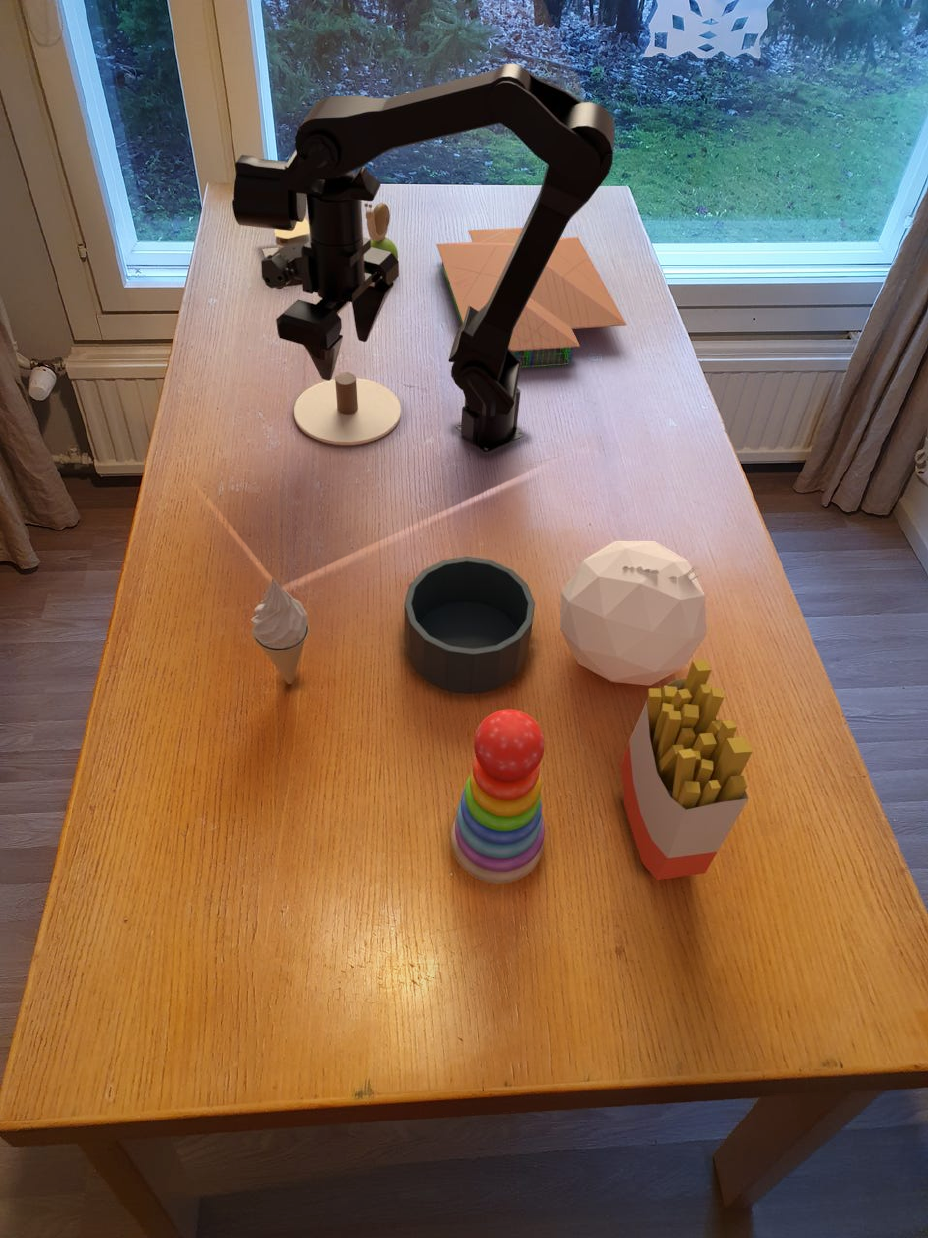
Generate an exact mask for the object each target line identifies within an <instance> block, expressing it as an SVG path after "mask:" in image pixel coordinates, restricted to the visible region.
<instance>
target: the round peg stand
mask: <svg viewBox="0 0 928 1238" xmlns="http://www.w3.org/2000/svg"><path fill="white" fill-rule="evenodd" d="M293 416H294V421H295V424H296V425H297V426H298V428H299V429H300V431H302V432H303V433H304V434H305V435H307V436H309V437H310V438H312V439H314V440H316V441H319V442H322V443H325V444H329V445H335V446H358V445H363V444H367V443H372V442H374V441H376V440H379V439H382V438H383V437H385V436H386V435H388V434H389V433H391V432H392V431H393V430H394V429H395V428H396V426H397V425H398V423H399V422H400V419H401V417H402V406H401V402H400V400H399V398H398V397H397V395H396V394H395V393H394V391H392V390H391V389H390V388H389V387H387V386H385V385H383V384H381V383H378V382H377V381H373V380H370V379H365V378H358V377H357V376H356V375H355V374H354V373H351V372H340V373H338V374H336V376H335V377H334V378H331V380H330V381H328V380H323V381H320V382H318V383H316V384H314V385H312V386H310V387H308V388H307V389H305V390H304V391H303V392H302V393H301V394H300V395H299V396H298V398H297V400H296V401H295V403H294V408H293Z"/></svg>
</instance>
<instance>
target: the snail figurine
mask: <svg viewBox="0 0 928 1238" xmlns="http://www.w3.org/2000/svg"><path fill="white" fill-rule="evenodd" d="M363 205H364V207H365V219H366V227H367V232H368V236H369V239H371V247H373V248H377V249H381V250H385V251H389V252H392V253H393V255H394V256H395V257H396V259H397V260H398V261H399V252H398V248H397V246H396V244H395V243H394V241H392V240H391V239H390V238H388V237H386V236H387V234H388V227H389V225H390V221H391V220H390V219H391V212H390V208H389V206H388V205H387V204H386V203H384V202H380V203H378V204H377V205H375V207H374V209H373V210H372V208H373V204H371V203H369V204H368V202H365V203H364V204H363ZM367 208H369V209H367Z"/></svg>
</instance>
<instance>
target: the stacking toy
mask: <svg viewBox="0 0 928 1238" xmlns="http://www.w3.org/2000/svg"><path fill="white" fill-rule="evenodd" d="M545 744H546V743H545V737H544V733H543V731H542V729H541V727H540V726H539V724H538V722H537V721H536V720H535V719H534V718H533V717H532V716H530V715H529V714H527V713H525V712H524V711H521V710H517V709H512V708H511V709H508V708H507V709H501V710H497V711H494V712H493V713H491V714H489V715H488V716H486V717H485V718H484V719H483V720H482V722H480V724H479V725H478V727H477V729H476V731H475V735H474V738H473V751H474V757H473V761H472V769H471V771H470V774H469V776H468V777H467V780H466V781H465V784H464V788H463V790H462V793H461V797H460V800H459V802H458V806H457V812H456V816H455V818H454V820H453V821H452V824H451V828H450V835H449V837H450V838H449V841H450V847H451V850H452V851H451V852H452V853H453V856H454V858H455V860H456V861H457V864H458V865H459V866H460V867H461V868H462V869H463V870H464V871H465V872H466V873H467V874H468V875H470V876H471V877H473V878H475V879H476V880H479V881H480V882H483V883H488V884H495V885H504V884H505V885H506V884H511V883H514V882H517V881H519V880H521V879H524V878H525V877H526V876H528V875H529V874H530V873H531V872H532V871H533V870H534V869H535V868H536V867H537V865H538V864H539V862H540V860H541V858H542V855H543V853H544V850H545V836H546V824H545V820H544V816H543V804H542V788H543V782H542V775H541V766H540V764H541V761H542V760H543V757H544V753H545V746H546V745H545Z"/></svg>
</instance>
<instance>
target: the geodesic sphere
mask: <svg viewBox="0 0 928 1238" xmlns="http://www.w3.org/2000/svg"><path fill="white" fill-rule="evenodd" d="M697 569H698V566H695V567H694V568H693V567H692V565H691V564H690V561H689V560H688V559H685V558H684V557H682V556H681V555H679V554H677V553H675V552H674V551H672V550H670V549H669V548H667V547H665V546H664V545H662V544H660V543H659V542H657V541H655V540H614V541H613V542H611V543H610V544H607V545H606V546H604V547H603V548H601V549H600V550H598V551H596V552H595V553H593V554H591V555H590V556H588V557H586V558H585V559H583V560H582V561H581V563H580V564H579V566H577V568H576V570H575V571H574V573H573V574H572V576H571V577H570V578H569V580H568V581H567V582H566V584H565V585H564V587H563V588H562V589H561V591H560V617H559V631H560V633H561V634H562V636H563V637H564V640H565V641H566V644H567V645H568V647H569V649H570V651H571V653H572V655H573V656H574V659H575V661H576V662H577V664H578V665H579V666H582V667H584V668H585V669H587V670H589V671H591V672H593V673H595V674H597V676H600V677H602V678H603V679H605V680H607V681H609V682H611V683H618V684H619V683H620V684H628V685H629V684H631V685H641V686H649V687H650V686H652V685H654V684H656V683H658V682H659V681H661V680H664V679H666V678H668V677H670V676H671V675H674V674H675V673H677V672H679V671H681V670H683V669H684V668H686V666H687V665H688V664H689V662H690V661H691V659H692V657H693V656H694V654H695V653H696V651H697V650H698V649H699V647H700V645H701V643H702V642H703V640H705V637H706V636H707V607H706V595H705V593H704V590H703V589H702V587H701V585H700V581H699V580H698V578H699V577H700V576H702V573H700V574H698V575H696V574H695V571H696V570H697Z"/></svg>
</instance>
